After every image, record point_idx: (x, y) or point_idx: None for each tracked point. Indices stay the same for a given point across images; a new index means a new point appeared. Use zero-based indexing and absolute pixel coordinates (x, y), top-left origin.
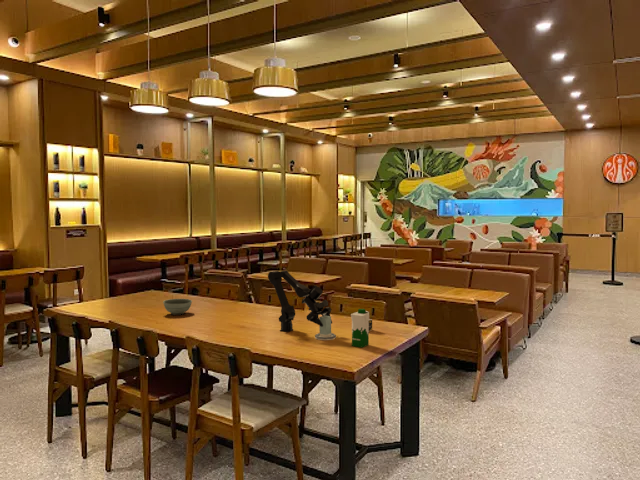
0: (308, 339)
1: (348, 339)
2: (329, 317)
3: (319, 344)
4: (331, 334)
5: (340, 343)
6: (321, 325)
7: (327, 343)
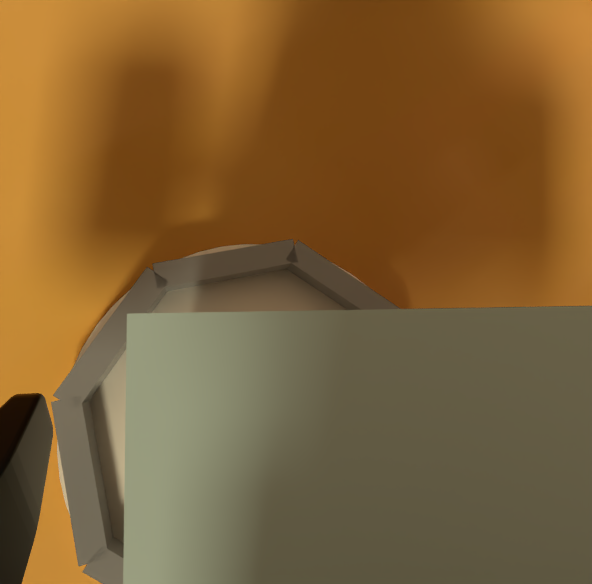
0: None
1: (136, 49)
2: (314, 314)
3: (588, 255)
4: (89, 414)
5: (386, 50)
6: None
7: (491, 195)
